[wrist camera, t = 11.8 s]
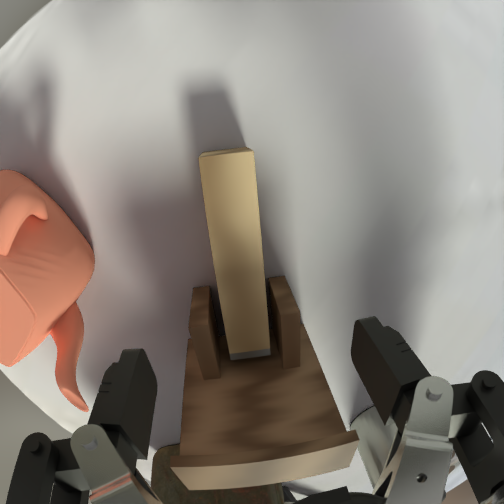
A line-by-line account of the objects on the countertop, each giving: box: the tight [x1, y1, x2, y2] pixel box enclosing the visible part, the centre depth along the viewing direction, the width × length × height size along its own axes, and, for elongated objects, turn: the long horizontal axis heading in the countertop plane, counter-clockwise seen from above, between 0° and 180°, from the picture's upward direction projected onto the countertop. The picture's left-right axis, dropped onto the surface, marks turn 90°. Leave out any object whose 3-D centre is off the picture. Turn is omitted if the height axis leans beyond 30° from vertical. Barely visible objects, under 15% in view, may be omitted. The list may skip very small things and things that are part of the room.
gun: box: [282, 487, 299, 504], centre depth 50 cm, size 2×25×10 cm, turn 38°
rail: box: [198, 147, 271, 360], centre depth 24 cm, size 4×17×5 cm, turn 5°
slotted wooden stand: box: [170, 276, 360, 490], centre depth 23 cm, size 13×10×15 cm
